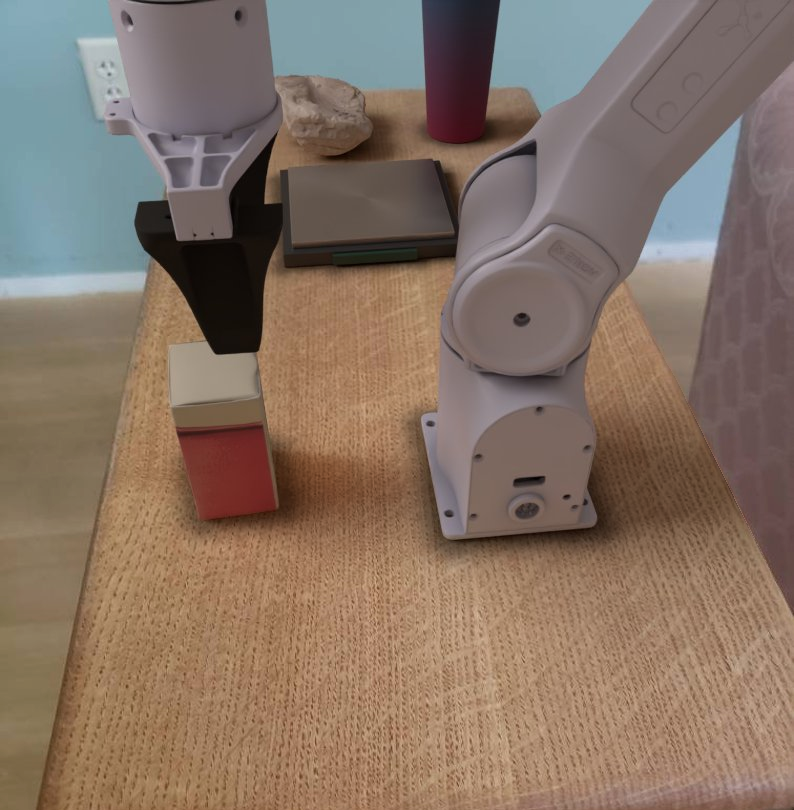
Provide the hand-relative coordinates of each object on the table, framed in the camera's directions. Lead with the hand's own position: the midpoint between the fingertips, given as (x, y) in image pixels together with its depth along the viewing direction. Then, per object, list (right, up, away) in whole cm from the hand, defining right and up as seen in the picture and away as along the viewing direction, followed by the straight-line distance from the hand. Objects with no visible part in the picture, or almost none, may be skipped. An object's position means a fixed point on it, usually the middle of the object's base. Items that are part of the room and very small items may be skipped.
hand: (239, 301), depth 41 cm
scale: (+5, +13, +24) cm, 28 cm away
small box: (-1, -9, +5) cm, 10 cm away
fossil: (+1, +23, +33) cm, 41 cm away
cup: (+13, +24, +34) cm, 44 cm away
